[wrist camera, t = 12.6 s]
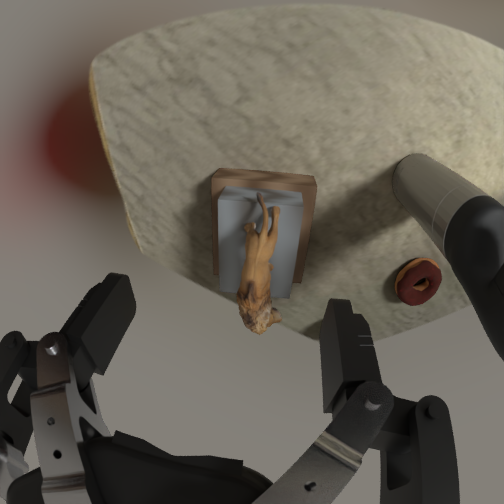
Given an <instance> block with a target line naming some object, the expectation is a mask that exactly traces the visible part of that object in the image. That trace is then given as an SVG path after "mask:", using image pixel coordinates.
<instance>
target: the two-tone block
mask: <svg viewBox="0 0 504 504" xmlns="http://www.w3.org/2000/svg"><path fill="white" fill-rule="evenodd" d="M257 192H260V193H261V195H262V196H263V201H264V203H265V205H266V208H267V210H268V231H269V229H270V227H271V223H272V219H271V216H272V215H271V208H272V207H273V206H278V207H279V208H280V214H279V219H278V236H277V237H278V238H277V243H276V245H275V249H274V252H273V255H272V256H271V258H270V259H269V261H268V262H269V263H271V264H272V265H273V267H274V268H273V269H272V271H270V274H271V280H270V292H271V296H270V297H277V298H288V299H289V298H290V292H291V287H292V283H301V281H302V276H303V271H304V265H305V260H306V254H307V249H308V243H309V237H310V231H311V225H312V219H313V213H314V206H315V200H316V193H317V184H316V181H315V178H314V176H309V175H300V174H291V173H281V172H270V171H257V170H243V169H227V168H219V169H218V170H217V172H216V173H215V174H214V175H213V177H212V178H211V193H212V240H213V268H214V275H219V285H220V291H221V292H229V293H237V291H238V289H239V287H240V282H241V274H242V269H243V266H244V262H245V259H246V253H245V243H246V235H247V233H248V232H246V231H245V229H244V227H245V225H246V224H247V223H251V222H254V223H255V225H256V228H255V230H256V231H257V232H258V233H260V232H261V229H262V224H263V210H262V208H261V206H260V204H259V203H258V201H257V196H256V193H257Z"/></svg>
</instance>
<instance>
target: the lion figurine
mask: <svg viewBox="0 0 504 504" xmlns="http://www.w3.org/2000/svg"><path fill="white" fill-rule="evenodd" d="M256 196H257V201H258V203H259V204H260V206H261V208H262V210H263V224H262V229H261V232H260V233H258V232H257V231H256V230H255V228H256V225H255V223H254V222H251V223H247V224H246V225H245V227H244V229H245V231H246V232H248V233H247V235H246V243H245V253H246V259H245V262H244V266H243V269H242V274H241V282H240V287H239V289H238V291H237V303H238V305H239V310H240V312H239V313H240V316H241V317H242V319H243V322H244V324H245V326H246V327H247V328H248V329H250V330H251V331H252V332H255V333H257V334H259V335H260V334H262V333H263V332H265V331H266V330H267V327H270V326H271V325H272V324H273V323H277V322H280V321H281V320H282V317H281V313H280V312H279V311H277V309H276V308H272V307H271V303H272V301H271V300H270V296H271V292H270V280H271V274H270V271H272V269H273V268H274V267H273V265H272V264H271V263H269V262H268V261H269V259H270V258H271V256H272V255H273V252H274V249H275V245H276V243H277V238H278V237H277V236H278V219H279V214H280V208H279V207H278V206H273V207H272V208H271V215H272V216H271V219H272V223H271V227H270V229H269V231H268V210H267V208H266V205H265V203H264V201H263V196H262V195H261V193H260V192H257V193H256Z"/></svg>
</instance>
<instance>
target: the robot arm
mask: <svg viewBox="0 0 504 504" xmlns="http://www.w3.org/2000/svg"><path fill="white" fill-rule="evenodd" d="M392 183H393V190H394V194H395V195H396V197H397V199H398V200H399V201H400V202H401V204H402V205H403V206H404V207H405V208H406V209H407V211H408V212H409V213H410V214H411V215H412V216H413V218H414V219H415V220H416V221H417V222H418V223H419V225H420V226H421V227H422V228H423V230H424V231H425V232H426V233H427V235H428V236H429V237H430V238H431V240H432V241H433V242H434V243H435V245H436V246H437V247H438V248H439V250H440V251H441V252H442V254H443V255H444V257H445V258H446V259H447V261H448V262H449V263H450V265H451V267H452V270H453V272H454V274H455V275H456V277H457V278H458V280H459V282H460V283H461V285H462V286H463V288H464V290H465V292H466V294H467V295H468V297H469V299H470V301H471V303H472V305H473V307H474V309H475V311H476V313H477V315H478V317H479V319H480V321H481V324H482V325H483V328H484V330H485V332H486V334H487V336H488V337H489V339H490V341H491V343H492V345H493V346H494V348H495V350H496V351H497V353H498V354H499V356H500V357H501V358H502V360H503V361H504V206H502V205H501V204H500V203H499V202H498V201H496V200H495V199H494V198H492V197H491V196H490V195H488V194H487V193H485V192H484V191H483V190H481V189H480V188H478V187H477V186H475V185H474V184H472V183H471V182H469V181H468V180H466V179H465V178H463V177H462V176H460V175H459V174H457V173H456V172H454V171H452V170H451V169H449V168H448V167H446V166H444V165H443V164H441V163H439V162H438V161H436V160H434V159H432V158H431V157H429V156H427V155H424V154H412V155H409V156H407V157H405V158H404V159H403V160H402V161H401V162H400V163H399V164H398V166H397V168H396V169H395V172H394V175H393V182H392ZM135 312H136V301H135V298H134V294H133V291H132V287H131V283H130V280H129V277H128V276H127V275H124V274H118V273H109V274H108V275H107V276H106V278H105V279H104V280H103V282H102V283H98V284H97V285H95V286H94V287H93V288H91V289H90V290H89V291H88V293H87V294H86V295H85V297H84V298H83V300H82V301H81V302H80V304H79V305H78V307H77V308H76V309H75V310H74V312H73V313H72V314H71V316H70V317H69V318H68V320H67V321H66V323H65V324H64V326H63V327H62V329H61V330H60V331H59V332H51V333H48V334H46V335H45V336H43V338H41V340H40V341H26V339H25V338H24V336H23V335H22V333H21V332H19V331H12V332H9V333H8V334H6V335H5V336H4V337H3V339H2V340H1V342H0V497H1V498H3V499H4V500H5V501H6V503H7V504H331V503H332V502H333V501H334V499H335V498H336V497H337V496H338V495H339V493H340V492H341V491H342V490H343V489H344V487H345V486H346V485H347V483H348V482H349V481H350V480H351V478H352V477H353V476H354V474H355V473H356V471H357V470H358V468H359V467H360V465H361V463H362V461H361V459H362V457H363V456H364V454H365V453H366V451H367V450H368V448H372V449H377V450H380V458H381V490H380V504H460V495H459V478H458V467H457V458H456V450H455V443H454V436H453V432H452V431H453V430H452V425H451V420H450V414H449V410H448V407H447V405H446V403H445V402H444V401H443V400H442V399H441V398H439V397H437V396H433V395H429V396H425V397H423V398H422V399H421V400H419V402H414V401H409V400H406V399H401V398H398V397H396V396H394V395H393V394H392V392H391V391H390V389H389V388H387V386H385V385H384V384H383V383H382V380H381V375H380V371H379V366H378V361H377V357H376V352H375V348H374V347H373V345H374V344H373V340H372V337H371V331H370V327H369V324H368V323H367V321H366V320H365V319H364V317H363V316H362V315H361V314H353V310H352V306H351V302H350V300H346V299H332V298H331V299H330V300H329V302H328V305H327V308H326V312H325V315H324V318H323V321H322V325H321V329H320V354H321V369H322V387H323V409H324V413H332V417H333V420H332V422H331V423H330V424H329V425H328V427H327V428H326V429H325V430H324V431H323V433H322V434H321V435H320V436H319V437H318V438H317V439H316V440H315V441H314V443H313V444H312V445H311V446H310V447H309V448H308V449H307V450H306V452H305V453H304V454H303V455H302V456H301V457H300V458H299V459H298V460H297V461H296V462H295V463H294V464H293V466H291V467H290V468H289V469H288V470H287V472H285V473H284V474H283V475H282V476H281V477H280V478H279V479H278V480H277V481H276V482H275V483H274V484H273V483H272V482H271V481H270V480H269V479H268V478H266V477H265V476H264V475H262V474H260V473H259V472H257V471H254V470H252V469H250V468H248V467H245V466H243V460H236V459H228V458H221V457H215V456H209V455H208V456H173V455H171V454H169V453H167V452H165V451H163V450H161V449H159V448H157V447H155V446H154V445H152V444H150V443H149V442H147V441H145V440H143V439H140V438H137V437H134V436H131V435H128V434H125V433H122V432H119V431H117V430H116V431H115V434H114V436H111V434H110V432H109V430H108V428H107V426H106V425H105V423H104V421H103V419H102V416H101V412H100V409H99V405H98V401H97V397H96V393H95V388H94V384H93V380H92V378H91V377H92V375H93V373H97V374H100V375H104V373H105V371H106V369H107V367H108V365H109V363H110V361H111V359H112V357H113V355H114V353H115V351H116V349H117V348H118V345H119V344H120V342H121V340H122V338H123V336H124V334H125V332H126V330H127V329H128V327H129V325H130V323H131V321H132V320H133V318H134V315H135ZM17 374H18V375H19V376H20V377H21V378H22V382H21V384H20V386H19V388H18V390H17V392H16V394H15V396H14V398H13V401H12V403H11V404H10V403H9V402H8V399H7V394H8V391H9V389H10V387H11V385H12V383H13V381H14V379H15V377H16V376H17ZM33 430H34V437H35V443H36V448H37V453H38V459H39V463H40V467H38V468H37V469H35V470H32V471H30V472H28V471H29V466H28V464H27V463H26V462H25V461H24V454H25V451H26V448H27V446H28V443H29V440H30V437H31V435H32V432H33ZM27 472H28V473H27ZM24 473H26V474H24Z"/></svg>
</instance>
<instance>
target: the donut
mask: <svg viewBox="0 0 504 504" xmlns="http://www.w3.org/2000/svg"><path fill="white" fill-rule="evenodd" d="M422 278H426V280H425V281H424V282H423V283H421V284H419V285H416V286H414V284H415V283H416V282H418V281H419V280H421V279H422ZM441 280H442V275H441V270H440V269H439V266H438V264H437V263H436V262H435V261H433V260H432V259H429V258H418V259H415V260H413V261H411V262H410V263H409V264H407V265H406V266H405V267H404V268H403V269H402V270H401V271H400V272H399V274H398V275H397V278H396V281H395V291H396V293H397V295H398V297H399V298H400V299H401V301H403V302H404V303H406V304H408V305H411V306H414V305H415V306H416V305H420V304H423V303H424V302H426V301H427V300H429V299H430V298H431V297H432V296H433V295H434V294H435V293H436V291H437V290H438V287H439V285H440V283H441Z"/></svg>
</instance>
